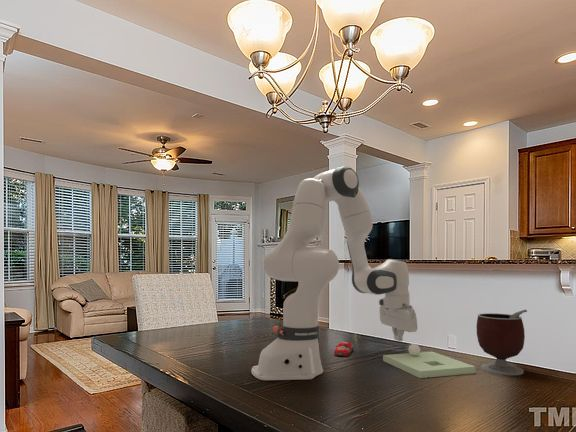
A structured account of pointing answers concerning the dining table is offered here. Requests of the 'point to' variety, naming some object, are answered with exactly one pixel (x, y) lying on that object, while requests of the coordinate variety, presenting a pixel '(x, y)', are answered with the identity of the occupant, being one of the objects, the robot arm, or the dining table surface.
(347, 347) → the race car
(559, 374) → the dining table surface
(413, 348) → the ball
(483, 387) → the dining table surface
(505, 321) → the mate gourd
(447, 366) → the mat
